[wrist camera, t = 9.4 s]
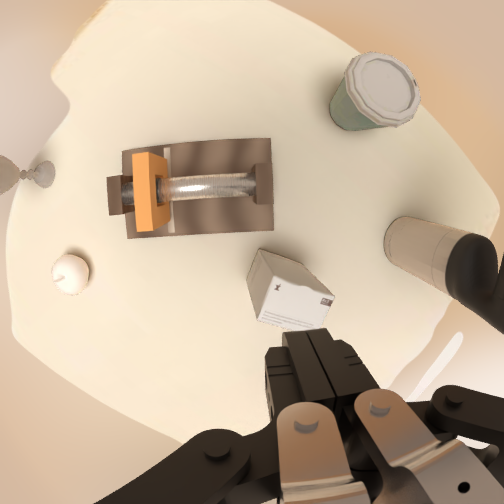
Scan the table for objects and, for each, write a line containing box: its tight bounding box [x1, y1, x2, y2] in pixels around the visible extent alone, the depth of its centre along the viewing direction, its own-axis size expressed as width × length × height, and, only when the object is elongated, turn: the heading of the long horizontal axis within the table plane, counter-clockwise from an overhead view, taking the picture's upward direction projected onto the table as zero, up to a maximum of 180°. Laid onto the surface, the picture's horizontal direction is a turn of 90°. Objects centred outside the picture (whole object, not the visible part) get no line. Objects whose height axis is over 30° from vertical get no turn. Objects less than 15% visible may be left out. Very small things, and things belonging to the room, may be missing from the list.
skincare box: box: [246, 249, 335, 331], centre depth 38 cm, size 8×6×15 cm
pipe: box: [121, 172, 256, 206], centre depth 34 cm, size 21×3×3 cm, turn 92°
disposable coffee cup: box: [330, 52, 421, 131], centre depth 33 cm, size 11×11×15 cm
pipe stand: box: [107, 138, 274, 239], centre depth 37 cm, size 23×14×10 cm, turn 92°
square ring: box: [132, 152, 170, 232], centre depth 34 cm, size 2×9×9 cm, turn 2°
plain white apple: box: [52, 254, 89, 296], centre depth 39 cm, size 7×7×8 cm
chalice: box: [0, 155, 55, 195], centre depth 30 cm, size 7×7×18 cm
